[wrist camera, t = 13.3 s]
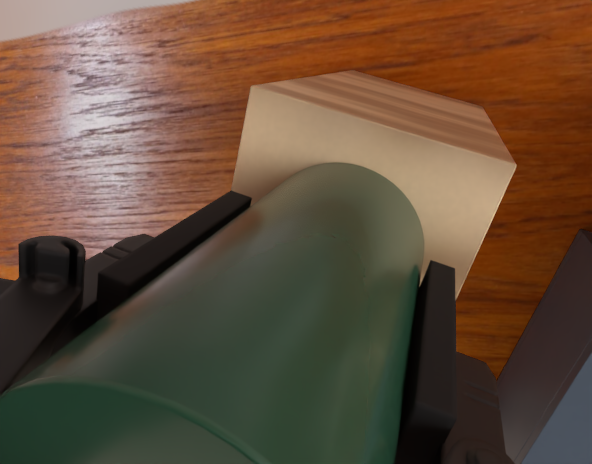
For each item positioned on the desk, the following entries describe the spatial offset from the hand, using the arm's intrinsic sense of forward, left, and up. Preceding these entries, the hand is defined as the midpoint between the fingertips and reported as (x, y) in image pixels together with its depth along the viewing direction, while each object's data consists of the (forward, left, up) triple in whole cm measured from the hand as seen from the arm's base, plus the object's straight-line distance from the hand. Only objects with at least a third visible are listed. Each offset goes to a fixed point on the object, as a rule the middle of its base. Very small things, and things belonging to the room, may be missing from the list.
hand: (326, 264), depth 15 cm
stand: (0, 0, -20) cm, 20 cm away
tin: (0, 0, -2) cm, 2 cm away
